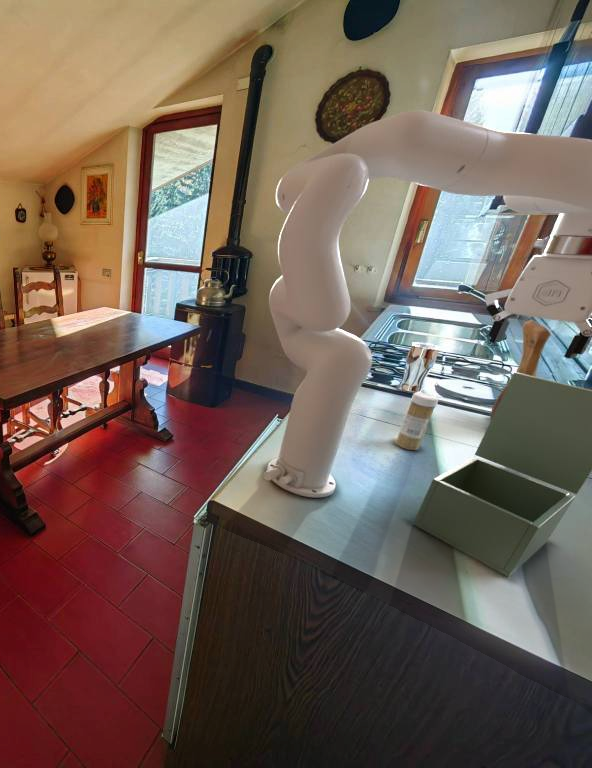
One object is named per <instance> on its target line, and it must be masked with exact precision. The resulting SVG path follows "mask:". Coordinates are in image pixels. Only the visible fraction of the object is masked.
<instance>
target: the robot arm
mask: <svg viewBox="0 0 592 768" xmlns="http://www.w3.org/2000/svg"><path fill="white" fill-rule="evenodd" d="M382 178H391V179H392V178H393V179H397V180H401V181H405V182H408V183H412V184H416V185H419V186H424V187H428V188H432V189H435V190H439V191H441V192H444V193H448V194H453V195H460V196H461V195H462V196H474V197H501V196H502V197H503V198H502V199H503V202H504V204H505V205H506V207H507V208H509V210H511V211H513V212H516V213H520V214H526V215H551V214H553V215H554V214H558V217H557V219H556V221H555V223H554V225H553V228H552V231H551V232H550V235H547V237H545V238H543V239H539V238H538V239H536V240H535V241H534V243H533V248H538V249H540V252H541V254H535V255H533V256H532V257H531V258H530V259H529V261H528V262H527V264H526V265H525V267H524V268H523V270H522V272H521V273H520V275H519V277H518V278H517V280H516V282H515V283H514V286H513V287H512V288H507V289H503V290H500V291H494V292H491V293H487V294H485V295H484V300H485V301H484V302H485V305H486V310H487V312H488V313H489V315H490V316H491V317H492V318H491V319H492V321H493V323H492V326H491V327H490V330H489V333H488V335H487V336H488V338H489V340H488V342H489V343H490V344H491V343H492V344H494V343H495V344H496V343H499V342H502V341H503V339H504V337H505V334H506V332H507V329H508V327H509V326H510V323H511V321H510V320H509V318H511V317H513V316H515V315H518V316H524V317H532V318H537V319H545V320H550V321H551V320H552V321H558V322H566V323H574V324H575V325H576V327H577V328H578V330H579V333H578V334H575V335H574V337H572V340H571V342H570V344H569V345H568V347H567V350H566V351H565V354H564V355H563V358H565V359H569V360H571V359H574V358H577V356H579V355H581V356H582V355H583V354H584V353H585V352H586V350H587V348H588V346H589V344H590V343H591V341H592V139H589V138H582V137H572V136H564V135H563V136H561V135H547V134H546V135H545V134H536V133H528V132H516V131H504V130H503V131H502V130H498V129H494V128H490V127H486V126H483V125H478V124H475V123H472V122H468V121H466V120H462V119H458V118H456V117H455V118H454V117H451V116H448V115H444V114H441V113H437V112H433V111H431V110H430V111H429V110H425V109H412V110H406V111H402V112H401V111H400V112H399V113H395V114H393V115H390V116H388V117H384V118H381V119H379V120H375V121H372V122H370V123H368V124H366V125H364V126H361V127H360V128H358V129H356V130H354V131H353V132H351V133H349V134H347V135H346V136H344V137H343V138H341V139H339V140H337V141H336V142H334V143H332V144H330V145H329V146H327V147H325V148H324V149H322V150H320V151H317V152H316V153H314V154H313V155H311V156H310V157H307V158H306V159H304V160H302V161H300V162H298V163H297V164H295V165H293V166H292V167H291V168H290V169H288V170H287V171H286V172H285V173H284V175H283V176H282V177H281V178H280V180H279V182H278V185H277V186H276V190H275V201H276V205H277V206H278V209H279V210H280V211H281V212H283V213H284V214H285V215H287V217H286V219H285V221H284V224H283V226H282V228H281V231H280V234H279V236H278V237H279V238H278V243H277V257H278V264H279V266H280V271H281V276H280V277H279V278H278V279H276V281H275V282H274V283H273V285H272V287H271V289H270V291H269V296H268V305H269V306H268V307H269V311H270V314H271V317H272V321H273V324H274V327H275V331H276V334H277V336H278V340H279V343H280V345H281V348H282V350H283V352H284V354H285V356H286V358H288V360H290V362H291V363H293V364H295V366H297V367H299V368H300V369H301V370H303V371H304V372H305V373H306V374H305V377H304V379H303V380H302V381H301V383H300V384H299V386H297V389H296V390H295V392H294V394H293V398H292V400H291V404H290V410H289V414H288V418H287V421H286V426H285V430H284V434H283V437H282V442H281V445H280V448H279V449H280V450H279V454H278V457H277V458H274V459H271V460H270V461H269V462H268V464H267V467H266V470H265V471H263V473H262V476H263V479H264V480H265V481H269V482H270V481H272V482H273V483H275V484H276V485H277V486H279V487H280V488H282V489H283V490H285V491H286V492H287V491H288V492H290V493H292V494H295V495H298V496H302V497H307V498H315V499H318V498H325V497H329V496H332V494H333V493H334V492H335V489H336V487H337V486H336V485H337V484H336V481H335V478H334V477H333V476H332V474H331V473H332V472H331V471H332V469H333V465H334V463H335V459H336V456H337V453H338V451H339V447H340V444H341V440H342V437H343V434H344V432H345V428H346V425H347V422H348V418H349V415H350V412H351V409H352V406H353V403H354V401H355V399H356V396H357V394H358V393H359V390H360V389H361V387H362V386H363V384H364V382H365V380H366V378H368V375H369V373H370V372H371V369H372V367H373V354H372V351H371V348H370V347H369V346H368V344H367V343H366V342H365V341H364V340H362V339H361V338H360V337H358V336H356V335H355V334H352V333H351V332H348V331H346V330H343V329H340V328H341V326H343V325H344V324H345V323H346V322H347V320H348V319H349V316H350V313H351V309H352V307H351V306H352V305H351V295H350V292H349V289H348V285H347V280H346V276H345V273H344V268H343V264H342V260H341V255H340V254H341V253H340V247H339V238H340V233H341V230H342V228H343V226H344V224H345V222H346V220H347V219H348V217H349V215H350V214H351V212H352V211H353V210H354V208H355V207H356V206H357V205H358V203H359V202H360V201H361V199H362V197H363V196H364V195H365V192H366V190H367V189H368V188H367V187H368V185H369V180H375V179H382ZM506 297H507V299H506V300H505V303H504V306H503V307H504V309H503V308H501V306H500V305H499V300H500V299H502V298H506Z"/></svg>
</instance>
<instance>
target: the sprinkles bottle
mask: <svg viewBox="0 0 592 768" xmlns="http://www.w3.org/2000/svg"><path fill="white" fill-rule="evenodd" d="M439 401H440V399H439V397H438V396H437V395H433V394H431V393H427V392H423V391H421V392H416V393H412V396H411V398H410V404H409V406H408V410H407V411H406V414H405V415H404V418H403V422H402V424H401V427H400V430H399V433H398V436H397V437H396V439H395V444H396V445H397V446H398V447H400V448H403V449H405V450H409V451H417V450H419V449H420V444H421V442H422V440H423V438H424V436H425V434H426V430H427V429H428V425H429V423H430V420H431V418H432V414H433V412H434V410H435V409H436V407H437V405H438V403H439Z"/></svg>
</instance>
